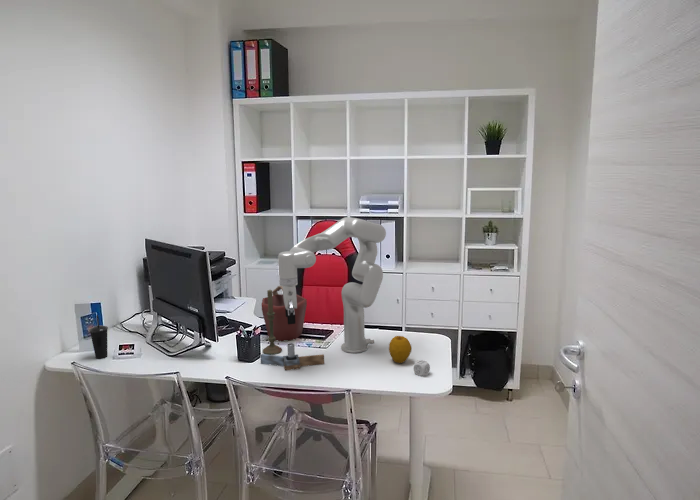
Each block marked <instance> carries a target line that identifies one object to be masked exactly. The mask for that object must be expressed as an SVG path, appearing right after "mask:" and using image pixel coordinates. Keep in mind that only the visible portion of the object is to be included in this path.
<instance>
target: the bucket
mask: <svg viewBox="0 0 700 500" xmlns="http://www.w3.org/2000/svg"><path fill="white" fill-rule="evenodd" d="M280 291H282V292H283V286H280V285H277V287H276V288H275V289H273V290H272V300H273V312H275V314H274V319H273V335H274V337H275V338H276V339H275V341H276V340H278V341H277V342H280V341H281V342H285V341H284V340H288V341H294V340H293V339H295V340H297V339H298V338H299V337H301V336H302V335H301V334H303V329H304V323H305V317H306V310H307V303H308V301H307V300H308V299H307V298H305V297H303V296H301V295H299V294H296V297H297V309H296V308H294V312H295V324H288V319H287V317H286V313H285V305H284V299H283V293H282V294H281V293H278V292H280ZM267 312H268V296H267V297H264V298H263V297H262V300H261V313H262V315H263V320H264V325H265V328H266V331H267V337H268V338H269V337H270V327H269V321H270V320H268V319H267V317H268V315H267Z"/></svg>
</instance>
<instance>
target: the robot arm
mask: <svg viewBox="0 0 700 500" xmlns="http://www.w3.org/2000/svg"><path fill="white" fill-rule="evenodd" d="M386 237H387V230H386V228H385V226H383V225H382V224H380V223H376V222H371V221H368V220H364V219H362V218H359V217H358V218H357V217H349V216H345V217H343V218H341V219H339V220H338V221H337V222H335V223H334V224H333V225H331V226H330V227H328V228H327V229H325V230H323V231H322V232H321V233H320V232H319V233H317V234H315V235H312V236H309V237H306V238H305V239H303V240H301V241H300V242H298V243H297V244H295V245H294V246H293V247H291V248H290V250H289V251H288V250H287V251H286V250H285V251H281V252H279V253H278V256H277V258H278V259H277V260H278V262H277V263H278V277H279V278H278V279H279V280H278V281H279V286H283V291H282V294H283V299H284V305H285V313H286V317H287V319H288V324H295V312H294V308H296V309H297V297H296V295H297V289H296V286H298V269H308V268H311V267H313V266H314V265H315V264H316V261H317V257H316V254H315V253H317V252H321V251H329V250H332V249H335V248H336V247H337V246H339V245H340V244H341V243H342V242H345V240H347V239H348V238H356V239H358V240H357V241H358V244H359V251H358V254H357V256H356V259H355V262H354V265H353V268H352V271H351V276H352V277H353V278H354V279H355V280H356V281H359V282H361V283H362V284H361V283H357V282H353V281H352V282H351V281H350V282H348V283H345V284H344V285H343V286H342V288H341V301H342V305H343V306H342V307H343V336H344V337H343V340H344V341H343V343H341V345H340V349H341V350H342V351H343V352H346V353H351V354H359V353H363V352H366V351H367V350H368V348H369V345H374V344H376V343H375V339H371V338H365V309H366V308H370V307H371V306H372V305H373V304H374V302H375V300H376V298H377V296H378V294H379V293H378V292H379V290H380V287H381V285H382V282H383V278H384V271H383V268H382V267H381V266H380V265H379V264H376V263H375V262H376V259H377V256H378V245H377V244H380V243H381V242H383V241H384V240H385V239H386Z"/></svg>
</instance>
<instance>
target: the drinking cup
mask: <svg viewBox="0 0 700 500" xmlns="http://www.w3.org/2000/svg"><path fill="white" fill-rule="evenodd" d="M95 316H96V317H95V318H96V324H97V325H94V326H93V327H91V328H89V330H88V332H89V333H90V337H91V343H92V346H93V350H94V355H95V359H96V360H101V359H102V360H103V359H106V358H107V357H108V329H109V327H108V326H106V325H102V324H101V325H100V322H99V321H100V320H99V315H98V314H96V315H95Z"/></svg>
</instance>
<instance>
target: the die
mask: <svg viewBox="0 0 700 500" xmlns="http://www.w3.org/2000/svg"><path fill="white" fill-rule="evenodd" d="M430 371H431V365H430V363H429V362H428V361H427V360H425V359H419V360H417V361H415V362H414V364H413V372H414V374H415V375H417V376H418V377H425V376H428V374H429V373H430Z"/></svg>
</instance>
